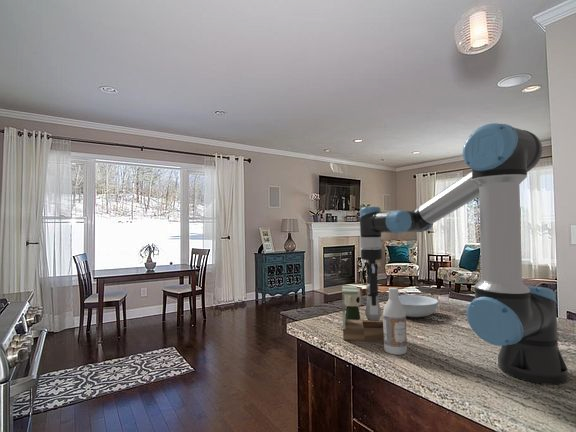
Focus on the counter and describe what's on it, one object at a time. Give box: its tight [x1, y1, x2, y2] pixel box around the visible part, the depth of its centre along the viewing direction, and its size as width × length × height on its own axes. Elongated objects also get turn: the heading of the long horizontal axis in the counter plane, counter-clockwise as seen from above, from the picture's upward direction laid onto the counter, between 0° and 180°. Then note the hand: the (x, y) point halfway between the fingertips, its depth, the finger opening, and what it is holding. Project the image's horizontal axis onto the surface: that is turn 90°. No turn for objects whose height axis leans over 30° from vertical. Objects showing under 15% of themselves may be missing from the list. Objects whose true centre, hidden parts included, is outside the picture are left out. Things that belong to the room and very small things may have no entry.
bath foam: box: [382, 287, 408, 356], centre depth 104 cm, size 7×7×20 cm
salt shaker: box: [364, 283, 382, 321], centre depth 119 cm, size 6×6×13 cm
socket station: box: [341, 285, 384, 343], centre depth 119 cm, size 12×17×17 cm
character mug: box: [345, 288, 362, 320], centre depth 138 cm, size 11×7×13 cm, turn 158°
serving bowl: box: [387, 294, 439, 318], centre depth 145 cm, size 21×21×7 cm
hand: (373, 311), depth 119 cm, fingers closed on salt shaker, 6 cm apart
